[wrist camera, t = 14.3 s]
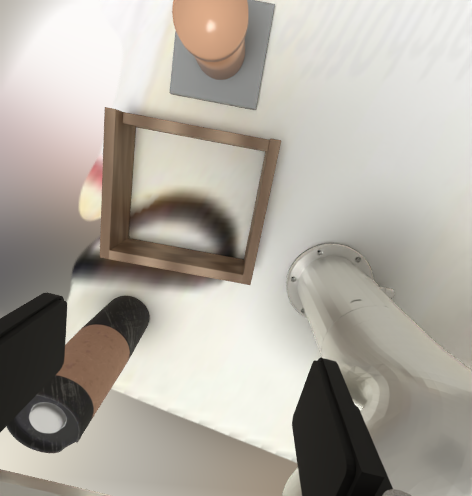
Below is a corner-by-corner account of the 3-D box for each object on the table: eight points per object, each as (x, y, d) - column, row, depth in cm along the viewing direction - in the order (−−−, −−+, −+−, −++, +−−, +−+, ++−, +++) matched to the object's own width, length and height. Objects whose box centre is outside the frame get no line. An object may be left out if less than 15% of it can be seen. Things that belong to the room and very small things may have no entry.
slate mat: (274, 7, 33) (274, 4, 32) (255, 110, 36) (255, 109, 35) (181, -11, 32) (179, -15, 32) (171, 94, 36) (169, 92, 35)
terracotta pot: (253, 23, 32) (255, -27, 24) (242, 88, 34) (240, 64, 26) (196, 12, 32) (177, -42, 24) (188, 77, 34) (168, 50, 26)
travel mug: (106, 289, 45) (0, 386, 25) (153, 299, 45) (82, 402, 26) (104, 330, 47) (4, 446, 28) (148, 339, 47) (79, 461, 28)
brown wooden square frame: (276, 143, 37) (281, 140, 31) (250, 268, 42) (250, 285, 37) (127, 115, 37) (104, 107, 31) (120, 244, 42) (99, 257, 36)
